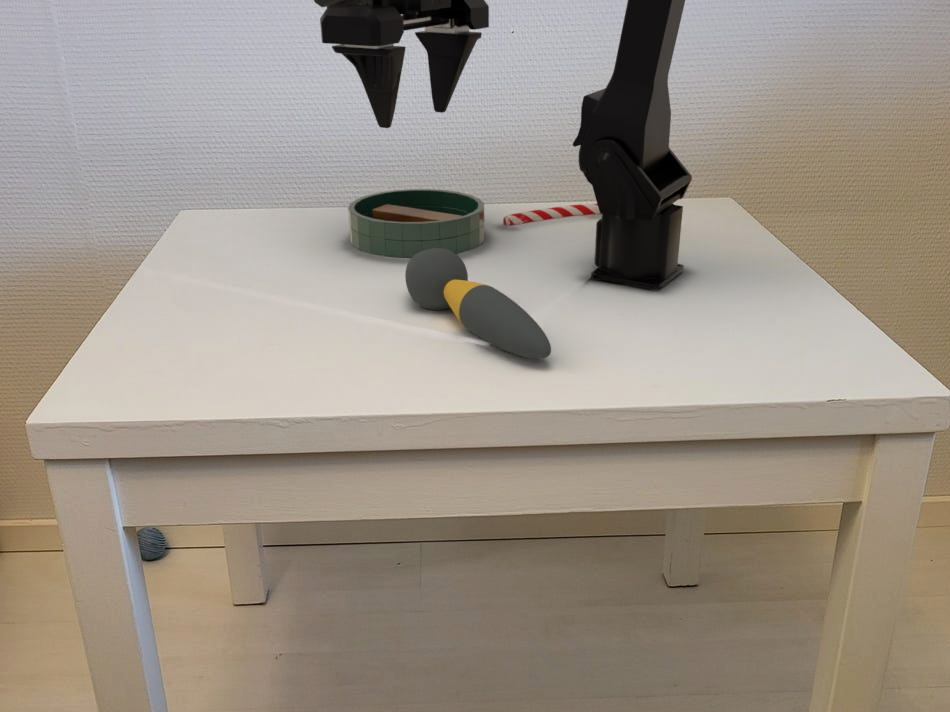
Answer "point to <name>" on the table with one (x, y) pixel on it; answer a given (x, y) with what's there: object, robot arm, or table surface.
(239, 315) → the table surface
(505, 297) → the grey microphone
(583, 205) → the candy cane
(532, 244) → the table surface
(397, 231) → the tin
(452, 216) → the block
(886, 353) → the table surface
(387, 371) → the table surface
